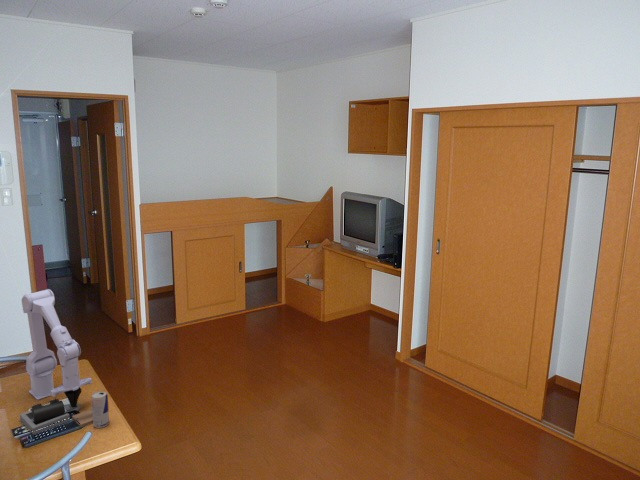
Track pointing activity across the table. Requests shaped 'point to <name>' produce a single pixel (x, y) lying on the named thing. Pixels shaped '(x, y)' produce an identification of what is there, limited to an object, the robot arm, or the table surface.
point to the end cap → (47, 411)
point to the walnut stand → (84, 418)
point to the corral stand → (31, 426)
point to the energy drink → (100, 409)
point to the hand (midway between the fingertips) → (73, 406)
